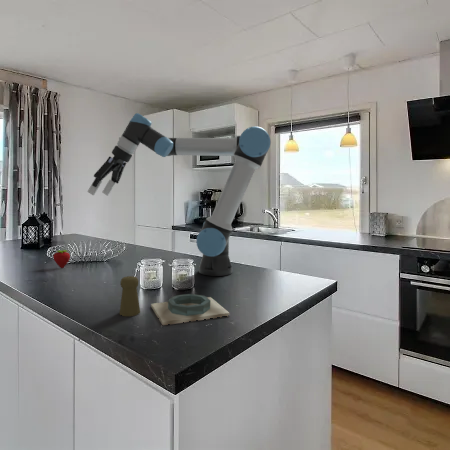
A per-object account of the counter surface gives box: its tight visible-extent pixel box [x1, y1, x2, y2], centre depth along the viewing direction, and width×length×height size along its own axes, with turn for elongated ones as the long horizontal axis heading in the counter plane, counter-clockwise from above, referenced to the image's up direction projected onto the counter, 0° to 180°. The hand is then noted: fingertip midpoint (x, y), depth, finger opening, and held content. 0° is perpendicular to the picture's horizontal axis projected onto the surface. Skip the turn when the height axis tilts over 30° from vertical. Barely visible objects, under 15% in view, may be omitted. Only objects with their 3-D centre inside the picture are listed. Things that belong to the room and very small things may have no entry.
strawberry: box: [53, 248, 71, 269], centre depth 158 cm, size 6×8×10 cm
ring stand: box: [150, 293, 231, 326], centre depth 105 cm, size 20×16×4 cm
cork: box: [119, 275, 141, 317], centre depth 103 cm, size 6×6×11 cm
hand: (98, 193), depth 142 cm, fingers open, 13 cm apart
